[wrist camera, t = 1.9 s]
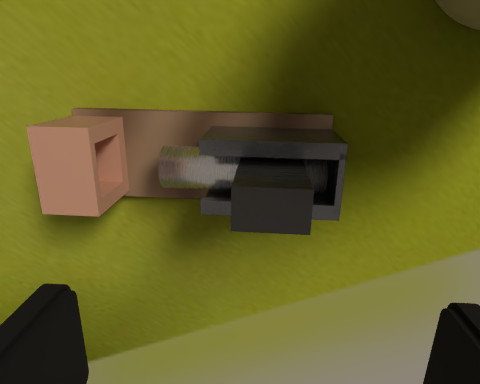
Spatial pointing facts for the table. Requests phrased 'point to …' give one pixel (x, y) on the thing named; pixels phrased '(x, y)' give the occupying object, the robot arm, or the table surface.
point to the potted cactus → (462, 11)
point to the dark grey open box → (278, 146)
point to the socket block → (79, 164)
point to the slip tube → (251, 186)
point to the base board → (184, 138)
